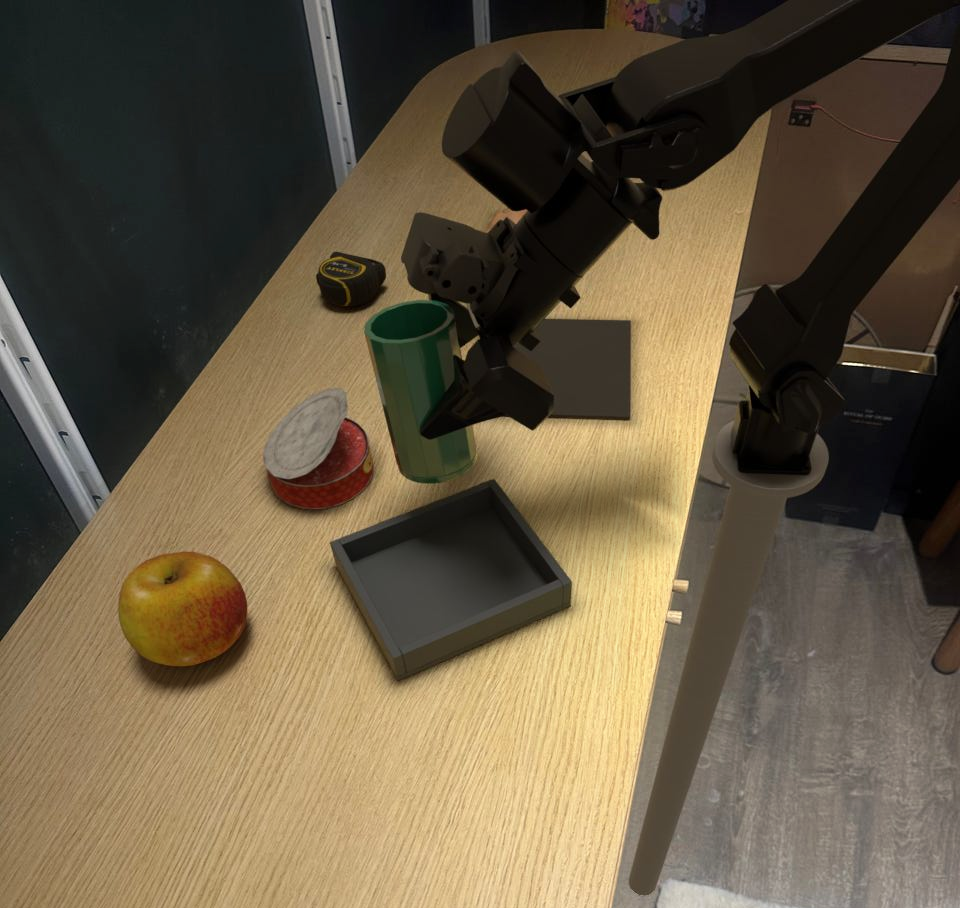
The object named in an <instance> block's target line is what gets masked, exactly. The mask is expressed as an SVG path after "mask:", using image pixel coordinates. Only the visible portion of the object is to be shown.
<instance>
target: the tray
mask: <svg viewBox="0 0 960 908" xmlns="http://www.w3.org/2000/svg"><path fill="white" fill-rule="evenodd" d="M329 546H330V549H331V552H332V556H333V559H334V563H335V567H336V568H337V570H338V572H339V574H340V576H341V578H342V579H343V581H344V583H345V585H346V587H347V589H348V591H349V593H350V594H351V596H352V598H353V600H354V602H355V604H356V606H357V607H358V609H359V611H360V613H361V616H362V617H363V619H364V621H365V622H366V624H367V626H368V628H369V630H370V632H371V634H372V636H373V638H374V639H375V641H376V643H377V645H378V646H379V648H380V650H381V653H382V654H383V657H384V658H385V660H386V661H387V663H388V665H389V667H390V669H391V671H392V673H393V674H394V677H395V678H396V680H397V681H398V682H399V681H401V680H403V679H406V678H409V677H411V676H413V675H415V674H417V673H420V672H422V671H424V670H427V669H429V668H431V667H434V666H436V665H439V664H440V663H443V662H445V661H447V660H450V659H452V658H454V657H457V656H459V655H461V654H463V653H466V652H468V651H470V650H472V649H475V648H477V647H480V646H481V645H483V644H486V643H488V642H490V641H493V640H495V639H497V638H500V637H502V636H504V635H507V634H509V633H512V632H513V631H516V630H518V629H520V628H522V627H525V626H527V625H530V624H532V623H534V622H536V621H538V620H541V619H543V618H545V617H548V616H550V615H553V614H556V613H557V612H560V611H562V610H564V609H566V608H569V607H571V605H572V590H573V581H572V579H571V578H570V577H569V576H568V574H567V573H566V572H565V571H564V569H563V568H562V566H561V565H560V564H559V562H558V560H556V558H555V557H554V555H553V554H552V553H551V552H550V550H549V548H547V546H546V545H545V544H544V542H543V541H542V540H541V539H540V537H539V536H538V534H537V533H536V532H535V531H534V530H533V528H532V527H531V525H530V524H529V522H528V521H527V520H526V519H525V517H524V515H522V513H521V512H520V511H519V509H518V508H517V506H515V504H514V502H513V501H512V500H511V499H510V497H509V495H507V493H506V492H505V490H504V489H503V488H502V487H501V485H500V484H499V483H498V482H497V480H496V479H495V478H492V479H488V480H487V481H483V482H481V483H478V484H476V485H473V486H471V487H468V488H466V489H463V490H460V491H457V492H455V493H452V494H450V495H447V496H445V497H443V498H439V499H437V500H434V501H432V502H430V503H428V504H427V503H426V504H423V505H422V506H419V507H417V508H413V509H411V510H409V511H406V512H403V513H401V514H399V515H396V516H393V517H391V518H388V519H385V520H383V521H381V522H378V523H375V524H373V525H370V526H368V527H365V528H362V529H360V530H357V531H355V532H351V533H349V534H347V535H344V536H342V537H340V538H337V539H335V540H331V541H330V542H329Z"/></svg>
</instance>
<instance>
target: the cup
mask: <svg viewBox="0 0 960 908" xmlns="http://www.w3.org/2000/svg"><path fill="white" fill-rule="evenodd" d="M363 333H364V337H365V341H366V345H367V349H368V353H369V357H370V361H371V365H372V369H373V373H374V374H373V375H374V377H375V382H376V385H377V390H378V394H379V398H380V403H381V407H382V410H383V413H384V418H385V421H386V426H387V429H388V435H389V438H390V442H391V447H392V451H393V454H394V458H395V462H396V465H397V468H398V471H399V472H400V474H401V475H402V476H403V477H404V478H405V479H406V480H409V481H411V482H414V483H417V484H423V485H424V484H425V485H431V484H441V483H445V482H449V481H453V480H455V479H457V478H459V477H461V476H463V475H465V474H466V473H467V472H469V471H470V470H471V469H472V468H473V467H474V465H475V464H476V462H477V459H478V449H477V441H476V434H475V430H474V429H475V428H474V425H471V426H468V427H465V428H462V429H460V430H457V431H454V432H451V433H448V434H446V435H443V436H440V437H437V438H434V439H431V440H429V439H426V438H425V437H423V436H421V435H420V432H419V430H420V428H421V427H422V425H423V424H424V422H425V420H426V419H427V417H428V416H429V414H430V413H431V411H432V410H433V409H434V407H435V406H436V405H437V403H438V402H439V400H440V399H441V398H442V396H443V395H444V394H445V392H446V391H447V389H448V388H449V387H450V385H451V384H452V383H453V381H454V378H455V375H454V363H453V356H454V354H455V355H457V356H458V357H460V358H461V359H463V357H462V351H461V350H462V349H461V348H460V344H459V338H458V332H457V326H456V320H455V314H454V310H453V309H452V308H451V307H450V306H449V305H448V304H446V303H442V302H439V301H435V300H429V299H415V300H409V301H402V302H399V303H396V304H393V305H390V306H387V307H385V308H383V309H381V310H379V311H378V312H376V313H374V314H372V315H371V316H370V318H369V319H368V320H367V321H366V322H365V324H364V330H363Z"/></svg>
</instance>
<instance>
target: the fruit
mask: <svg viewBox="0 0 960 908" xmlns="http://www.w3.org/2000/svg"><path fill="white" fill-rule="evenodd" d="M117 602H118V604H117V611H118V613H117V615H118V621H119V625H120V628H121V631H122V634H123V636H124V638H125V641H127V642H128V644H129V646H130V647H131V648H132V649H133V650H135V652H137V653H138V654H139V655H141V656H142V657H143V658H144V659H147V660H148V661H150V662H153V663H156V664H159V665H165V666H168V667H189V666H195V665H198V664H201V663H205V662H207V661H210V660H213V659H215V658H217V657H219V656H220V655H221V654H223V653H225V652H226V651H227V650H228V649H229V648H230V647H231V646H233V645H235V643H236V642H237V640H238V639H239V638H240V636H241V634H242V632H243V631H244V629H245V627H246V623H247V619H248V600H247V596H246V592H245V590H244V588H243V586H242V584H241V582H240V581H239V580H238V578H237V576H236V575H235V574H234V573H233V572H232V571H231V570H230V568H229V567H227V565H225V564H224V563H222V562H221V561H220V560H219V559H217V558H214V557H213V556H211V555H208V554H205V553H202V552H198V551H197V552H196V551H177V552H172V553H163V554H159V555H156V556H154V557H151V558H148V559H146V560H144V561H143V562H141V563H140V564H139V565H137V566H136V567H134V569H133V570H132V571H131V572H130V573H129V574H128V575H127V577H126V578H125V579H124V581H123V583H122V585H121V588H120V591H119V595H118V601H117Z"/></svg>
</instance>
